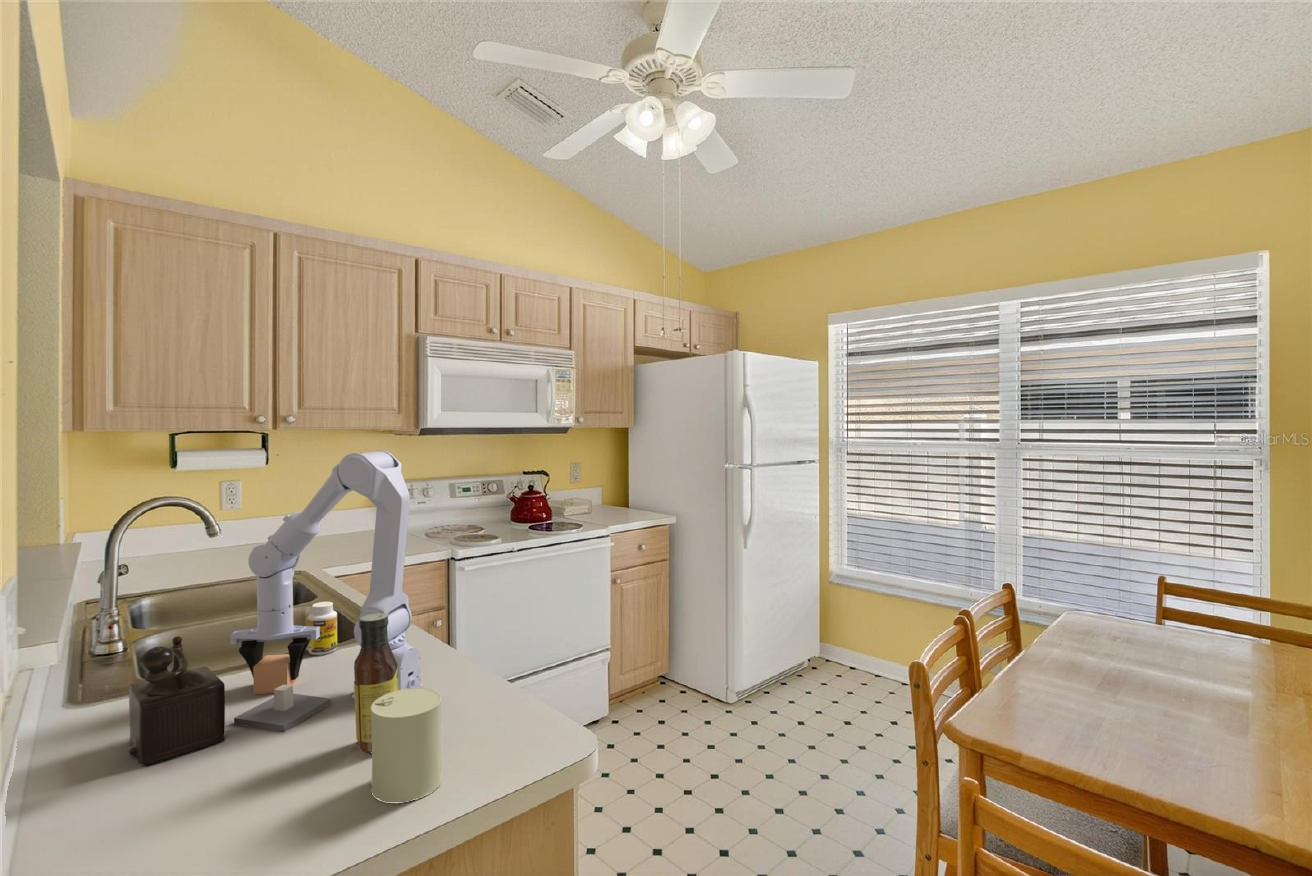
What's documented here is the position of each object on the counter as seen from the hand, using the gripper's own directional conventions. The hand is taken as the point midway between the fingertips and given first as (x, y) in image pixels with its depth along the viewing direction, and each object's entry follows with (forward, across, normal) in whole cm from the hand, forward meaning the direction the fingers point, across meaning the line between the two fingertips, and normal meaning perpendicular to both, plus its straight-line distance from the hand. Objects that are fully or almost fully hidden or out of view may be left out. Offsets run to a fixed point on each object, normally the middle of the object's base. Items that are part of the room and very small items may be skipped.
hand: (276, 679), depth 119 cm
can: (+2, -30, +37) cm, 48 cm away
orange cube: (+1, 0, 0) cm, 1 cm away
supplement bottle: (+2, -3, -18) cm, 18 cm away
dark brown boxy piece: (+2, +6, +21) cm, 22 cm away
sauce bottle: (+2, -24, +25) cm, 35 cm away
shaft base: (+1, -6, +12) cm, 13 cm away
